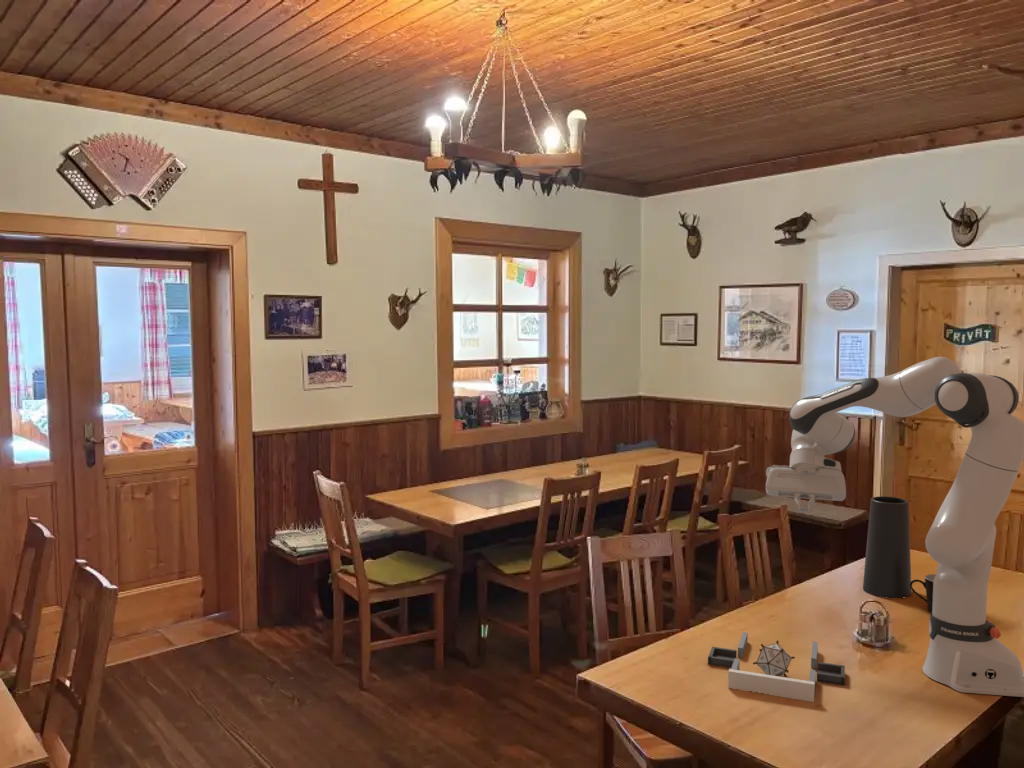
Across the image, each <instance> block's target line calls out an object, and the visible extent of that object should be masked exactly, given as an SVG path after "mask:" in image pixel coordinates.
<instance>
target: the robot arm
mask: <svg viewBox="0 0 1024 768" xmlns="http://www.w3.org/2000/svg"><path fill="white" fill-rule="evenodd" d="M1019 400H1020V398H1019V392H1018V390H1017V388H1016V387H1015V385H1014V384H1013V383H1012V382H1010V381H1009V380H1007V379H1005V378H1004V377H1001V376H998V375H997V376H996V375H990V374H985V373H981V372H971V373H970V372H969V373H968V372H962V370H961V369H960V367H959V365H957V363H956V362H955V361H954V360H952V359H951V358H948V357H945V356H935V357H932V358H929V359H925V360H923V361H920V362H917V363H915V364H913V365H910V366H908V367H907V368H904V369H903V370H901V371H897V372H896V373H893V374H889V375H885V376H881V377H880V376H879V377H878V376H877V377H864V378H860V379H858V380H854V381H852V382H848V383H846V384H843V385H842V386H839V387H836V388H833V389H830V390H828V391H826V392H822V393H820V394H816V395H810V396H806V397H803V398H801V399H799V400H797V401H796V402H795V403H794V404H793V405H792V406H791V408H790V409H789V416H788V417H789V424H790V427H791V428H792V432H791V439H790V446H791V448H790V449H791V453H790V454H789V465H785V464H783V465H778V464H772V466H768V467H767V468H766V470H765V477H766V482H765V492H766V494H767V495H768V496H771V497H781V498H793V499H794V502H795V503H796V504H797V506H798V507H797V508H798V510H797V511H799V512H806V513H807V512H808V513H809V512H811V507H812V506H813V505H814V504H815V502H816V500H823V501H834V502H835V501H836V502H837V501H838V502H843V501H845V499H847V498H846V497H847V488H846V487H847V485H846V478H845V475H844V474H843V471H842V465H841V463H840V461H838V460H835V459H832V458H828V457H826V456H831V455H834V454H838V453H841V452H843V451H846V450H847V449H849V448H850V447H851V445H852V444H853V442H854V439H855V436H856V428H855V425H854V423H853V422H851V421H850V420H848V419H847V418H846V417H844V416H843V415H841V414H840V413H838V412H841V411H844V410H846V409H848V408H849V409H850V408H853V407H863V408H868V409H871V410H875V411H878V412H881V413H884V414H886V415H889V416H892V417H898V418H906V417H913V416H914V415H918V414H920V413H922V412H924V411H926V410H928V409H930V408H932V407H934V406H937V408H938V409H939V410H940V412H941V413H943V414H944V415H945V416H947V417H948V418H950V419H951V420H953V421H954V422H956V424H958V425H960V426H961V427H962V428H965V429H967V428H970V431H971V437H970V440H969V443H968V446H967V448H966V450H965V452H964V456H963V459H962V461H961V464H960V466H959V468H958V470H957V473H956V476H955V479H954V481H953V483H952V485H951V487H950V489H949V490H948V493H947V495H946V496H945V498H944V500H943V501H942V503H941V505H940V508H939V509H938V511H937V514H936V516H935V518H934V520H933V522H932V524H931V526H930V528H929V530H928V532H927V534H926V537H925V549H926V551H927V553H928V555H929V556H930V558H932V560H934V561H935V562H937V563H938V564H937V569H936V571H935V574H936V575H935V578H934V581H933V605H932V612H931V613H929V614H930V615H929V620H928V635H929V637H930V638H929V644H928V649H927V655H926V657H925V661H924V664H923V665H922V671H923V673H924V674H925V675H926V676H927V677H929V678H930V679H932V680H934V681H936V682H938V683H941V684H943V685H946V686H948V687H950V688H951V689H953V690H954V691H957V692H959V693H966V694H980V695H991V696H993V695H994V696H1006V697H1016V698H1017V697H1019V698H1020V697H1021V698H1024V672H1023V671H1024V670H1023V666H1022V664H1021V661H1020V658H1018V656H1017V654H1016V653H1015V652H1013V651H1012V649H1010V648H1009V647H1008V646H1006V645H1005V644H1004V643H1002V642H1001V641H1000V640H999V638H1001V635H1002V634H1001V632H1000V630H999V628H997V627H996V625H995V624H994V623H993V622H992V621H991V619H987V602H988V587H989V582H990V581H989V580H990V575H991V570H992V569H991V568H992V564H993V557H994V550H995V542H996V537H997V527H996V524H995V523H996V521H997V518H998V516H999V515H1000V513H1001V511H1002V510H1003V508H1004V506H1005V505H1006V503H1007V500H1008V498H1009V496H1010V494H1011V491H1012V489H1013V487H1014V484H1015V481H1016V479H1017V477H1018V474H1019V471H1020V468H1021V466H1022V464H1023V461H1024V421H1023V420H1021V419H1020V418H1018V417H1017V416H1015V415H1012V414H1013V413H1014V412H1015V410H1016V409H1017V407H1018V405H1019ZM801 499H809V500H808V501H807V502H802V500H801Z"/></svg>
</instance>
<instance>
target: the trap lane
mask: <svg viewBox="0 0 1024 768" xmlns="http://www.w3.org/2000/svg"><path fill="white" fill-rule="evenodd" d="M747 644H748V632H747V631H742V634H741V637H740V640H739V642H738V646H737V650H736V649H733V648H732V649H731V648H727V647H726V648H725V647H719V646H711V649H710V651H709V653H708V657H707V665H711V666H718V667H723V668H728V681H727V682H728V683H727V687H728V689H730V688H732V690H736V689H740V690H739V691H743V690H746V691H745V692H749V691H752V692H751V693H755V692H758V693H757V694H761V693H764V695H767V694H769V695H768V696H774V697H779V696H780V697H781V698H785V699H786V698H787V699H793V700H797V701H798V700H799V701H805V702H810V703H811V702H812V703H815V692H816V689H815V688H816V682H820V681H821V683H826V682H827V683H828V684H833V683H834V685H839V684H840V686H845V684H846V683H845V682H846V680H845V679H846V678H845V677H846V674H845V673H846V669H845V667H846V666H845V665H844V664H843V665H842V664H835V663H827V662H821V661H818V644H819V643H818V641H812V645H811V646H812V647H811V655H810V656H811V657H810V669H809V679H808V680H805V679H804V680H803V679H797V678H792V677H785V676H773V675H767V674H766V673H759V672H758V673H757V672H753V671H746V670H740V664H741V663H740V658H739V657H742V658H741V659H743V658H744V655H745V651H746V648H747ZM817 661H818V662H817ZM816 665H817V666H816ZM729 667H730V668H729ZM814 668H816V669H817V670H816V669H814Z"/></svg>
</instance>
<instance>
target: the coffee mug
mask: <svg viewBox="0 0 1024 768" xmlns="http://www.w3.org/2000/svg"><path fill="white" fill-rule="evenodd" d="M935 575H936V573H934V574H933V573H932V574H926V575H924V581H922V580H920V579H913V580H911V583H910V588H911V592H913V593H914V594H915V595H916V596H917V597H919V598H920V599H921V600H923V601H924V602H925V603H926V605H927V612H928V611H929V612H930V613H931V612H932V605H933V581H934V578H935ZM916 582H918V583H920V584H922V586H923V587H924V589H925V594H926V595H925V596H926V597H923V596H922V595H921V594H920V593H918V592H916V590H915V589H914V588H913V586H912V585H913V584H914V583H916ZM929 612H928V613H929ZM930 613H929V614H930Z"/></svg>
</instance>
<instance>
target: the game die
mask: <svg viewBox="0 0 1024 768" xmlns="http://www.w3.org/2000/svg"><path fill="white" fill-rule="evenodd" d="M760 646H761V647H762V648H759V652H760V653H759V655H758V657H757V660H756V661H754V662H752V665H757V666H758V668H760V669H761V671H763V672H764V674H766V675H773V676H779V677H782V676H783V677H786V678H788V676H787V674H786V673H789V669H788V668H789V665H790V663H791V661H792V660H793V659H796V657H795V656H791V655H790V654H789V653H788V652H786V651H785V649H784V648H783V647H782V646H781V645H780V644H779V640H778V639H777V640H776V642H775V643H773V644H768V645H764V644H763V643H760Z"/></svg>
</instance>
